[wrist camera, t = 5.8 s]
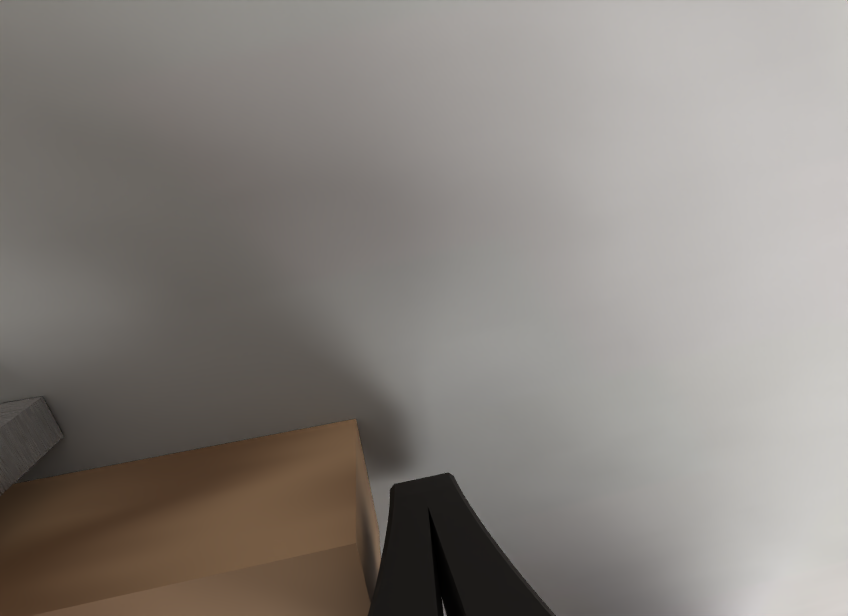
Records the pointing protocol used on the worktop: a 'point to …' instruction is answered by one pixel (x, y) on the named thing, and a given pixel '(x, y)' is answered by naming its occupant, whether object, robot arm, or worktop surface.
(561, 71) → the worktop surface
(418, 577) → the robot arm
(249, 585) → the tan rectangular block
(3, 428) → the bracket
